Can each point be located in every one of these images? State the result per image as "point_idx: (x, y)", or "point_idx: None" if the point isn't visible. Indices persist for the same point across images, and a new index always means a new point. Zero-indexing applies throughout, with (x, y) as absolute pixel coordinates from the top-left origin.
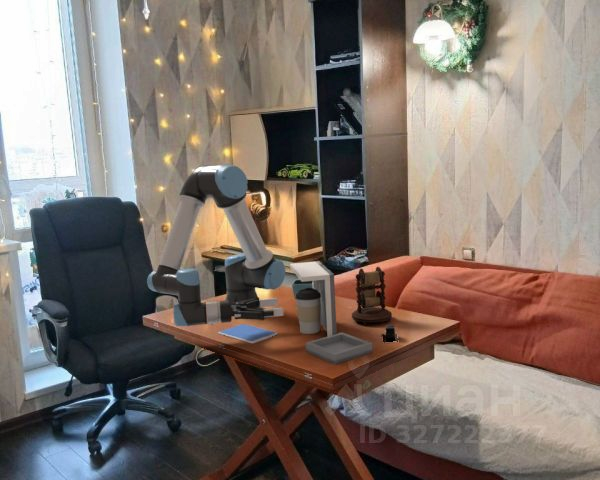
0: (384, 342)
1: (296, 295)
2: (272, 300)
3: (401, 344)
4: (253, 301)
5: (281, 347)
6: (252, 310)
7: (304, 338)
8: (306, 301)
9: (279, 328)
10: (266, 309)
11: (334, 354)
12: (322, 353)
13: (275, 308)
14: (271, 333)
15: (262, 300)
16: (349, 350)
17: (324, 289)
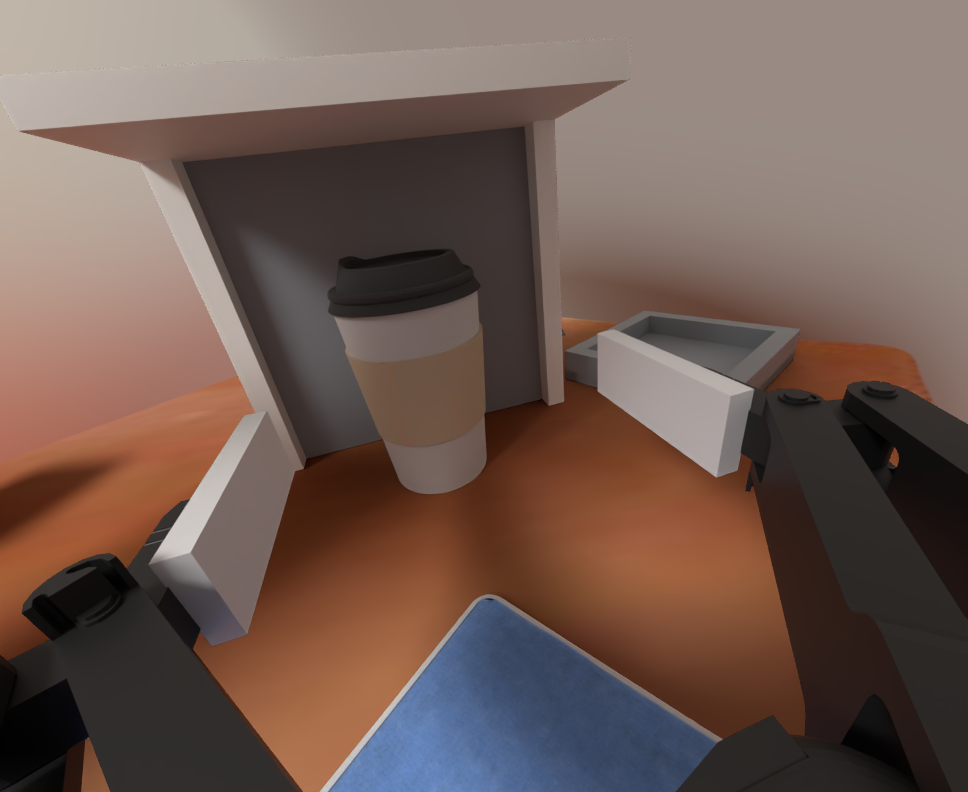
0: (562, 333)
1: (416, 288)
2: (260, 452)
3: (569, 320)
4: (173, 668)
5: (737, 521)
6: (887, 503)
7: (554, 461)
8: (477, 295)
9: (347, 616)
10: (726, 378)
11: (798, 329)
12: (775, 364)
13: (649, 348)
14: (508, 630)
15: (213, 526)
16: (730, 321)
17: (423, 237)
